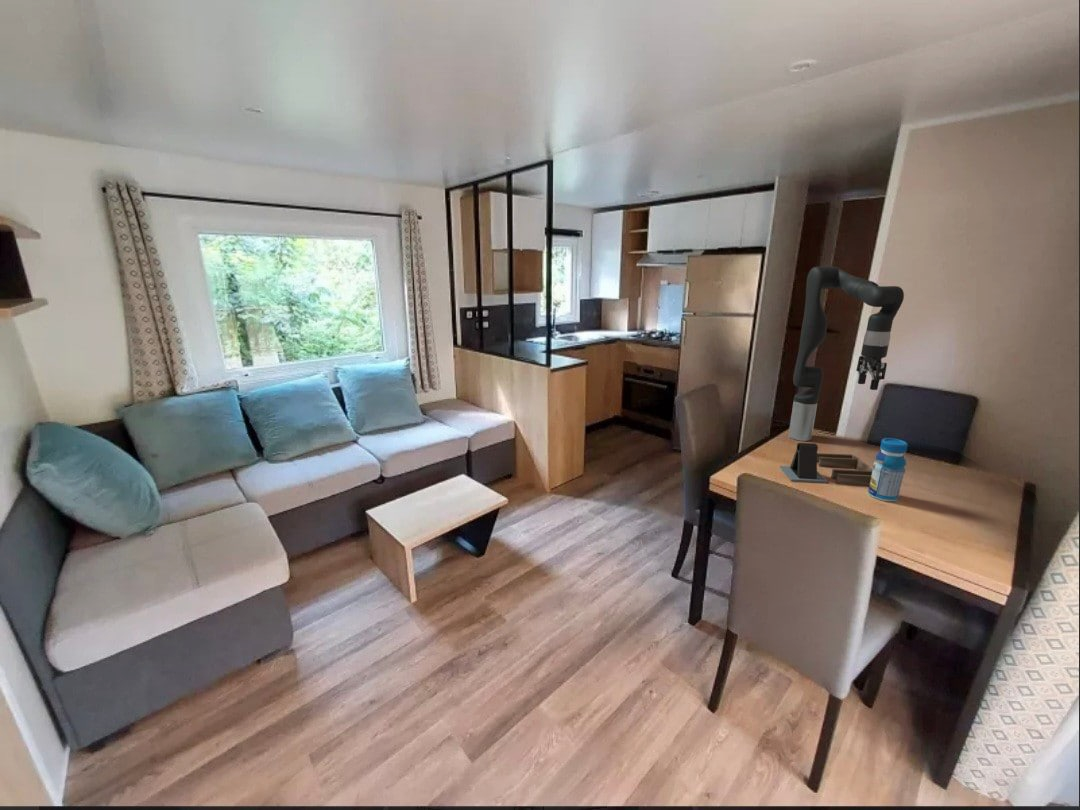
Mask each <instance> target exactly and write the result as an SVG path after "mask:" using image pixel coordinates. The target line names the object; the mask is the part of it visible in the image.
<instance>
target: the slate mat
mask: <svg viewBox="0 0 1080 810" xmlns="http://www.w3.org/2000/svg"><path fill="white" fill-rule="evenodd" d="M790 466H791V465H779V468H781V471H782V472H783V474H784V475H785V476H786V477H787V478H788V479H789V481H790V482H796V483H797V482H799V483H818V484H820V483H821V484H828V483H827V482H828V481H827V479H826V478H825V477H823V475H821V473H820V472H819V471H818V470H817V479H809V478H798V477H797V475H796V474H795V473H794V472H793V471H792V470H791V469H790Z"/></svg>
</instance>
